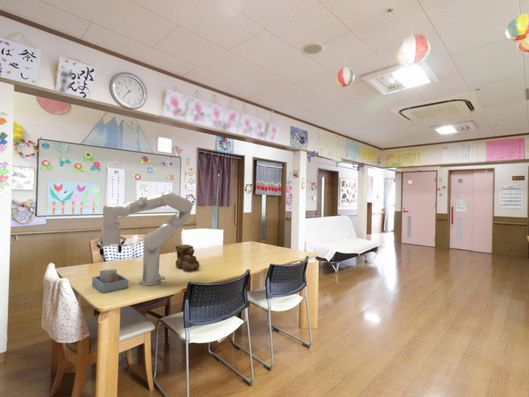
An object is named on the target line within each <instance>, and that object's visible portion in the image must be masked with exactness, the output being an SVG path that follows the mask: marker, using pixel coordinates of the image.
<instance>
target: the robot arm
mask: <svg viewBox="0 0 529 397" xmlns="http://www.w3.org/2000/svg"><path fill="white" fill-rule="evenodd" d="M165 206H168V207H170V208H172V209H174V210H176V211H177V212H176V213H175V214H174V215H172V216H171V217H169V218H168V219H167V220H166V221H164V222H162V223H161V224H160V225H159V227H158V228H156V229H155V230H154V231H151V232H148V233H147V234H145V236H144V238H143V257H142V258H143V260H142V277H141V278H142V279H140V280H139V284H140V285H142V286H155V285H158V284H161V283H162V281H166V277H165V276H161V274H160V255H161V247H162V246H163V245H164V244H165V243H167V242H168V241H169V240H170V239H172V238H173V237H174V236H175V234H176V231H178V230H179V229H180V228H181V227H182V226H184V224H186V223H187V222H188V220H189V219H190V216H191V212H192V210H193V202H191V200H189V199H187V198H184V197H182V196H180V195H179V194H176V193H175V192H172V191H169V190H168V191H162V192H160V193H156V194H153V195H149V196H145V197H143V198H140V199H137V200H134V201H130V202H125V203H123V204H118V205H117V204H105V205H103V207H102V218H103V219H102V223H103V224H102V225H103V226H102V227H101V229H100V238H99V239H97V240H95V241H94V245H95V246H96V247H97V248H98V249H99V255H100V256H102V257H103V256H104V254H105V251H104V247H105V246H110V245H116V244H117V245H118V246H117V252H118V253H120V254H121V253H122V251H123V250H122V249H123V248H122V247H123V245H124V244H126V240H127V238H126V237H124V236H121V232H120V227H119V226H120V225H121V223H120V222H119V221H118V217H121V218H127V217H129V216H130V215H133V214H136V213H139V212H144V211H151V210H155V209H158V208H161V207H165ZM121 240H122V241H121ZM99 243H100V244H99Z"/></svg>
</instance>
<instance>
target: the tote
mask: <svg viewBox="0 0 529 397" xmlns="http://www.w3.org/2000/svg"><path fill="white" fill-rule="evenodd" d="M117 275H118V281H116V282H111V283H106V284H103V283H102V282H100V275H97V276H92V277H91V278H92V279H91V281H92V283H91V286H92V287H94V288H95V289H96V290H97V291H98V292H100V293H101V294H107V293H111V292H115V291H121V290H126V289H129V279H128V278H127V277H124V276H123V275H122V274H120V273H118V272H117Z"/></svg>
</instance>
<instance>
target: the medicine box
mask: <svg viewBox="0 0 529 397" xmlns="http://www.w3.org/2000/svg"><path fill="white" fill-rule="evenodd" d="M117 273H118V270H117V269H114V268H113V269H110V268H108V269H106V268H103V269H101V270H100V271H99V276H100V282H102V283H103V284H106V283H108V276H109V275H112V274H117Z"/></svg>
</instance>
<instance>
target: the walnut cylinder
mask: <svg viewBox="0 0 529 397" xmlns="http://www.w3.org/2000/svg"><path fill="white" fill-rule="evenodd" d="M116 281H118V275H117V274H112V275H109V276H108V283H111V282H116Z"/></svg>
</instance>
